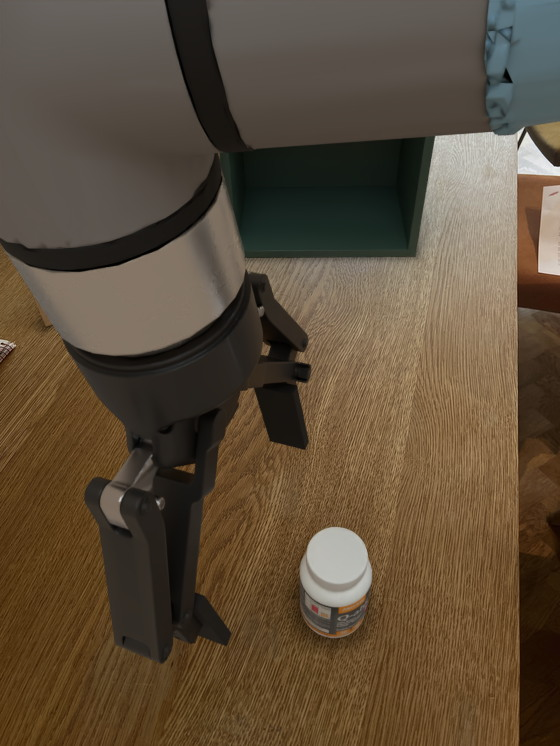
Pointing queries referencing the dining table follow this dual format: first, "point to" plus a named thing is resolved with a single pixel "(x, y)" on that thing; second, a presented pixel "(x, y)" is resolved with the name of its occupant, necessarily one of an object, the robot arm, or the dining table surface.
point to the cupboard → (330, 198)
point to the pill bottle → (335, 582)
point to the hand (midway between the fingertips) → (252, 528)
